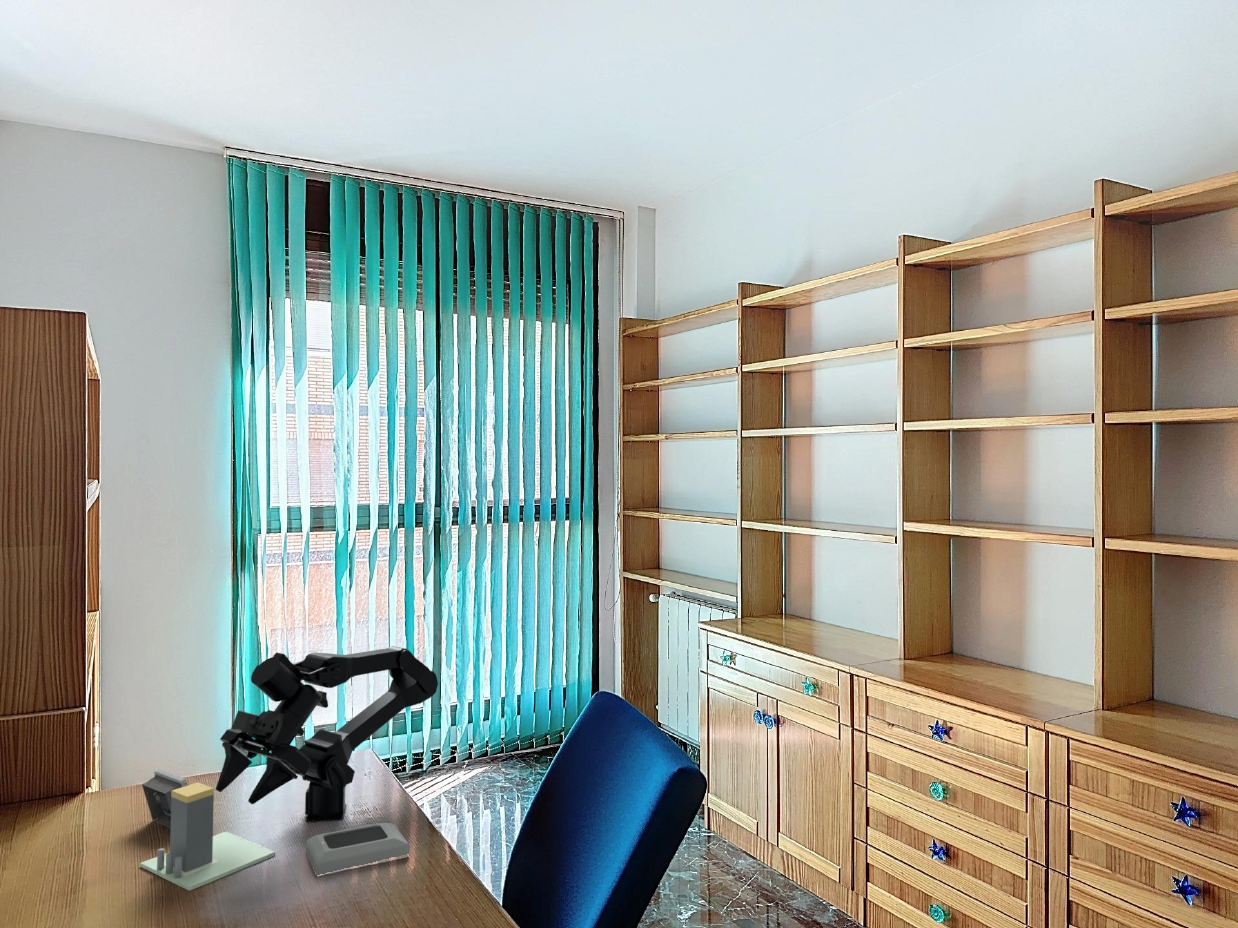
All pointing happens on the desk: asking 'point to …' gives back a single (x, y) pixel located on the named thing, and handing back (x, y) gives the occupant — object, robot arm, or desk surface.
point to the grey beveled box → (355, 847)
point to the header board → (225, 860)
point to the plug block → (192, 825)
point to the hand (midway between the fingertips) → (233, 796)
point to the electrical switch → (162, 795)
